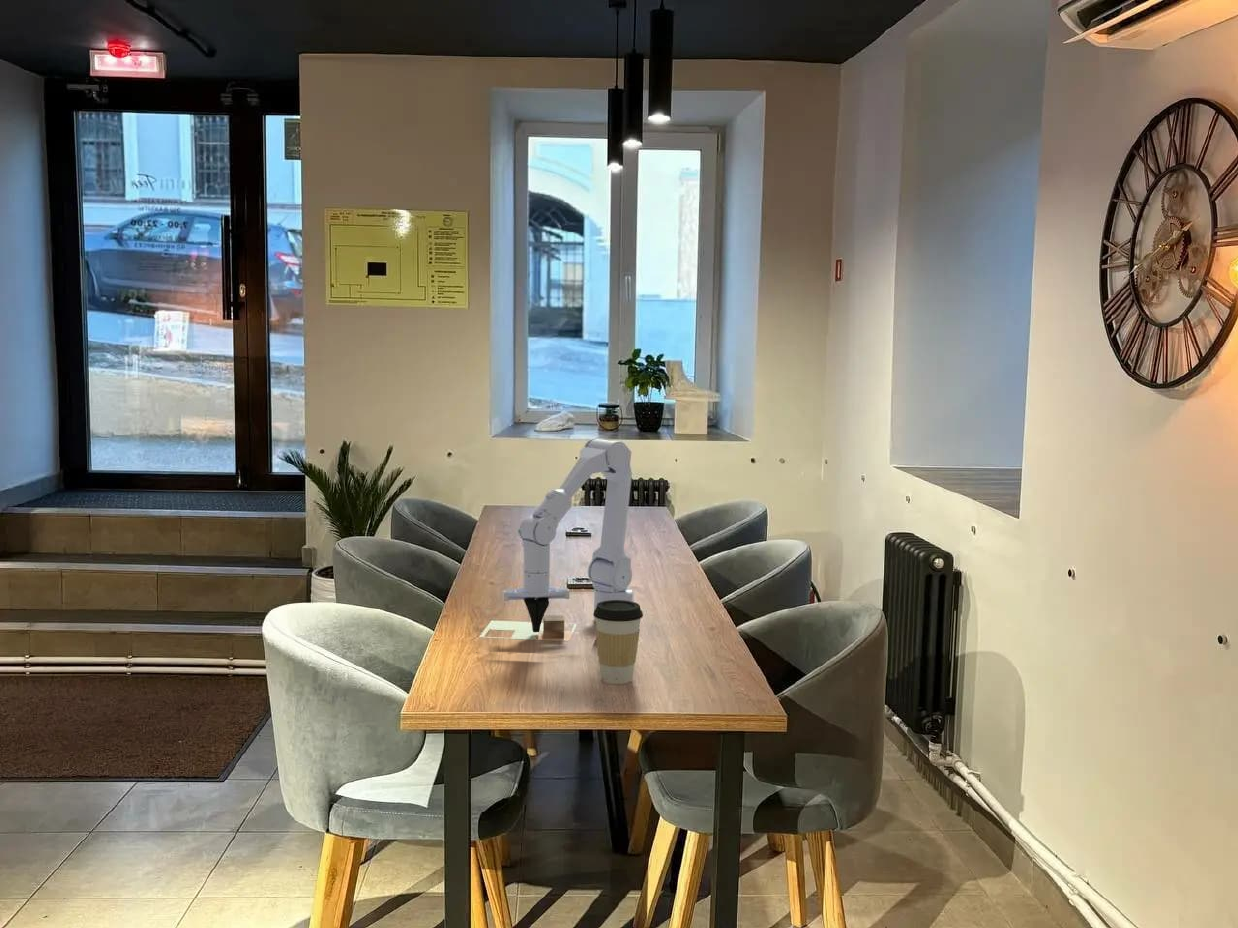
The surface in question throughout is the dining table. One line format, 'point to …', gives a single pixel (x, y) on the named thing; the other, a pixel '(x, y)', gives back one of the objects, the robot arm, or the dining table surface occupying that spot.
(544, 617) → the block
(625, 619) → the coffee cup
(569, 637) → the board
